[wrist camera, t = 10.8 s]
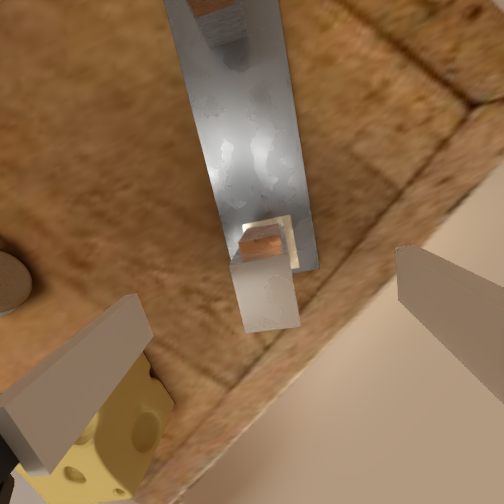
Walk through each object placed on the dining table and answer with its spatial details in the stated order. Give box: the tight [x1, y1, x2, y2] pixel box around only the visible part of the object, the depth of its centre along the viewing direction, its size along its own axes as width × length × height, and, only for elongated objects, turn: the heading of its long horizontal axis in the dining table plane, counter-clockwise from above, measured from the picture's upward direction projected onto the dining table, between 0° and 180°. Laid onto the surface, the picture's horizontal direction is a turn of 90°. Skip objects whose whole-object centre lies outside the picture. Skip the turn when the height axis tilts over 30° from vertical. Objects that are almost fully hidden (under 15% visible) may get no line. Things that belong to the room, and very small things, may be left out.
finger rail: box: [164, 0, 320, 273], centre depth 15 cm, size 24×8×12 cm, turn 13°
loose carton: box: [229, 221, 301, 333], centre depth 17 cm, size 5×3×10 cm, turn 12°
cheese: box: [14, 352, 174, 504], centre depth 26 cm, size 10×11×10 cm
